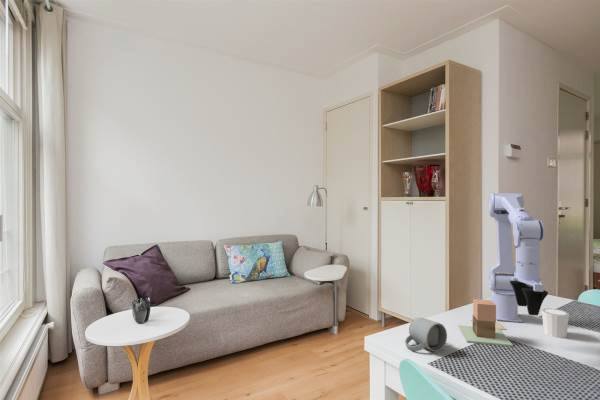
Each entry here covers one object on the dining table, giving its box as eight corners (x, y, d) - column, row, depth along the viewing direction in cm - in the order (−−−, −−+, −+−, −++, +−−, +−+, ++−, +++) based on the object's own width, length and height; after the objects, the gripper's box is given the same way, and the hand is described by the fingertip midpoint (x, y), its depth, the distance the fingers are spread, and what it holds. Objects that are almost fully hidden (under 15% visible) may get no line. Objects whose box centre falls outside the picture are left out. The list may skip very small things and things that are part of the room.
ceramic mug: (425, 337, 101) (425, 312, 101) (447, 348, 93) (447, 321, 93) (398, 345, 96) (397, 318, 96) (419, 357, 89) (418, 328, 89)
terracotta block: (473, 314, 105) (473, 298, 105) (490, 316, 104) (490, 300, 104) (477, 320, 100) (477, 303, 100) (496, 321, 99) (496, 305, 99)
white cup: (558, 339, 99) (558, 316, 99) (536, 331, 106) (536, 309, 106) (575, 337, 101) (575, 314, 101) (552, 328, 108) (552, 307, 108)
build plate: (458, 326, 109) (458, 325, 109) (498, 330, 106) (498, 328, 106) (467, 342, 98) (467, 340, 98) (513, 346, 95) (513, 344, 95)
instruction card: (471, 320, 115) (471, 319, 115) (500, 323, 113) (500, 322, 113) (475, 327, 109) (475, 326, 109) (506, 329, 107) (506, 328, 107)
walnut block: (472, 330, 105) (472, 314, 105) (490, 331, 104) (490, 316, 104) (476, 336, 100) (476, 320, 100) (495, 338, 99) (495, 321, 99)
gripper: (503, 257, 103) (502, 301, 103) (521, 266, 89) (521, 317, 89) (529, 258, 101) (528, 303, 101) (552, 268, 87) (552, 320, 87)
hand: (527, 310), depth 95 cm, fingers open, 7 cm apart
